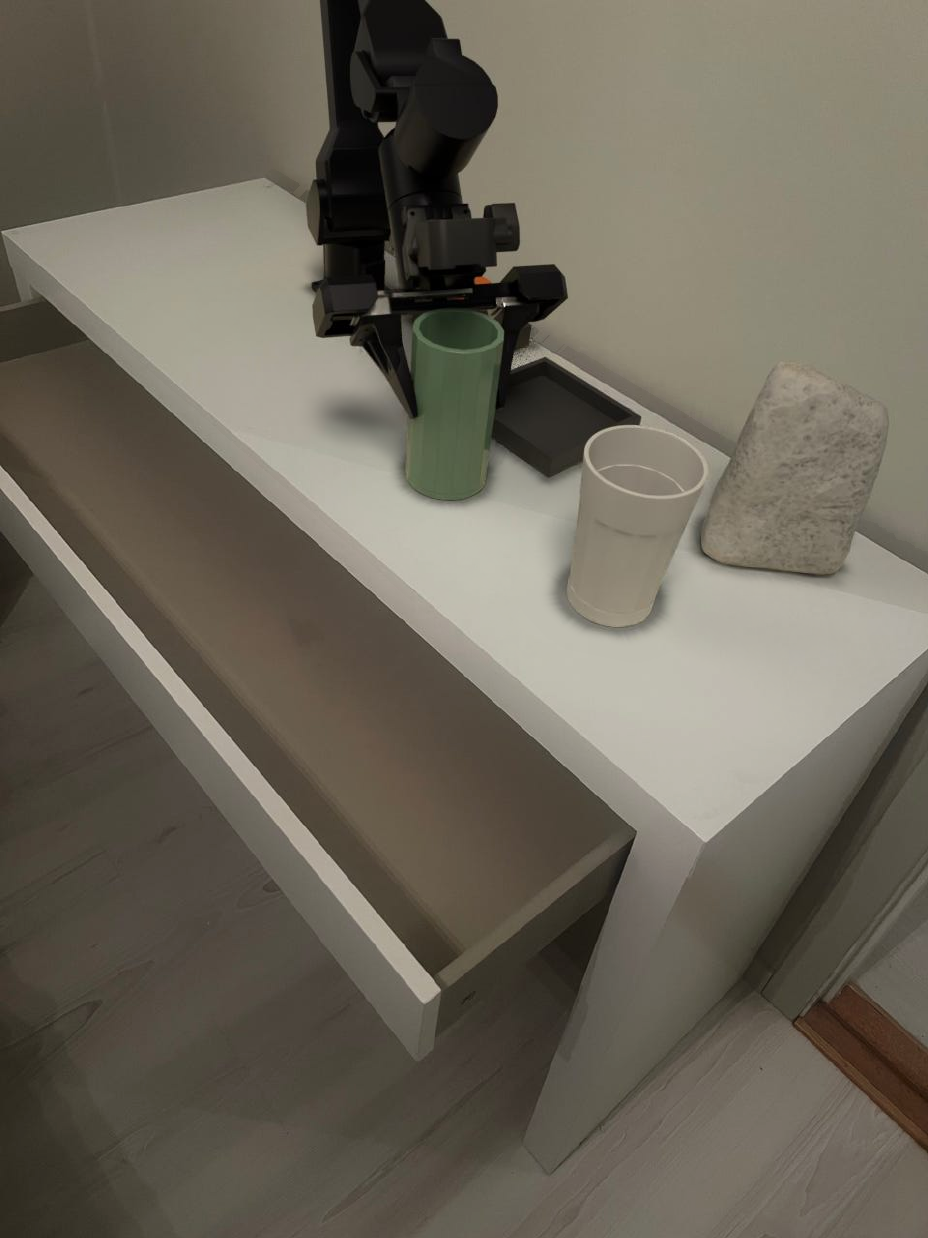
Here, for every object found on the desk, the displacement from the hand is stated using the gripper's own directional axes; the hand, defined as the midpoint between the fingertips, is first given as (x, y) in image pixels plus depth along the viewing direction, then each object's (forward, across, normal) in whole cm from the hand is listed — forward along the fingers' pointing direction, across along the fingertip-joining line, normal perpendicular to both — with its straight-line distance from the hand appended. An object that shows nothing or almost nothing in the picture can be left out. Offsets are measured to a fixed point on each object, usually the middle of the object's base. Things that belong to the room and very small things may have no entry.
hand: (457, 413), depth 71 cm
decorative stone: (+14, +22, -4) cm, 27 cm away
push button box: (-12, +10, +22) cm, 27 cm away
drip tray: (0, +11, +10) cm, 15 cm away
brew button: (-15, +10, +19) cm, 26 cm away
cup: (+16, +8, -6) cm, 18 cm away
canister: (+4, 0, +6) cm, 7 cm away
